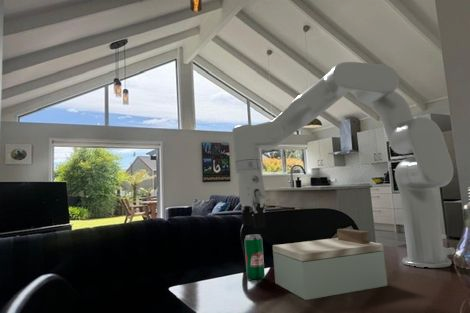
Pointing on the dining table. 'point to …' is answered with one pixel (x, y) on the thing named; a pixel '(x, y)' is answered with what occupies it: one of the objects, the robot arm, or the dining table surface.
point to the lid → (330, 246)
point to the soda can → (254, 257)
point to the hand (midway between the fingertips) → (253, 226)
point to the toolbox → (330, 274)
